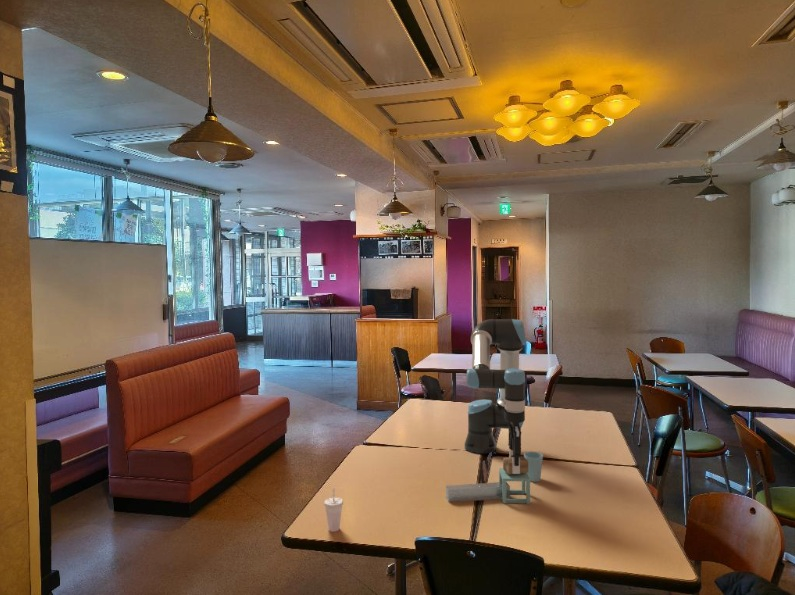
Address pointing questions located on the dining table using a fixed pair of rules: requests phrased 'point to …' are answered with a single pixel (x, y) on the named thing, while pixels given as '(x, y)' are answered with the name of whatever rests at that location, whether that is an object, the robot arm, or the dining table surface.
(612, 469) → the dining table surface
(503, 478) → the bridge
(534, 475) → the cup
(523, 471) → the walnut block
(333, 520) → the smoothie
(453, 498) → the grey bar
